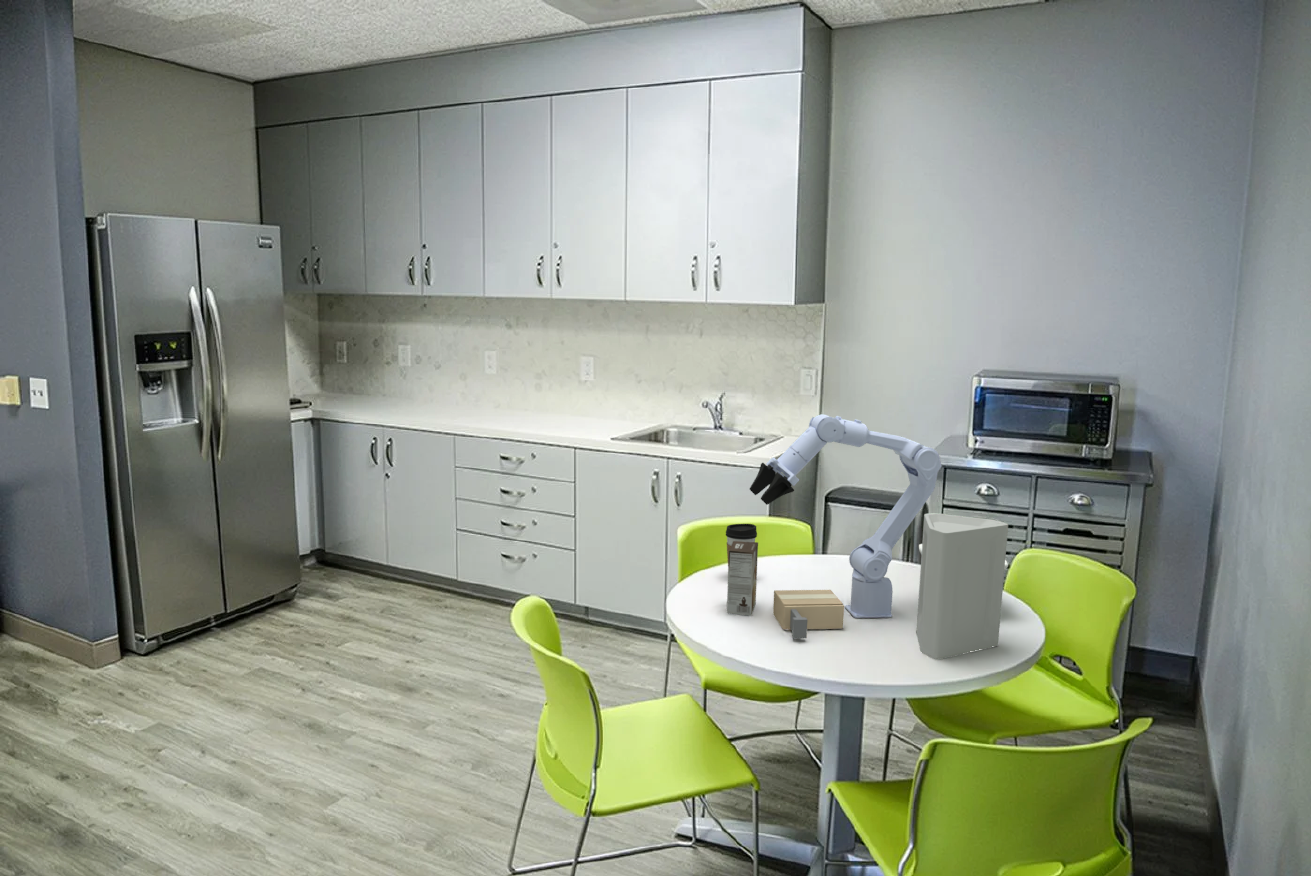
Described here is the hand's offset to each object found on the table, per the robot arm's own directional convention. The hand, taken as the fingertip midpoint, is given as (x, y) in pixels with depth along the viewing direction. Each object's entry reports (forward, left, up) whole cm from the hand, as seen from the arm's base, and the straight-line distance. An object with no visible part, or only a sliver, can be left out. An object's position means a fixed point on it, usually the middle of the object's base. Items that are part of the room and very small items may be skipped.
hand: (757, 496), depth 217 cm
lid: (-12, +12, -29) cm, 34 cm away
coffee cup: (-2, -29, -30) cm, 42 cm away
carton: (-12, +3, -30) cm, 32 cm away
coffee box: (+2, -6, -30) cm, 30 cm away
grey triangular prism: (-40, +17, -30) cm, 53 cm away
